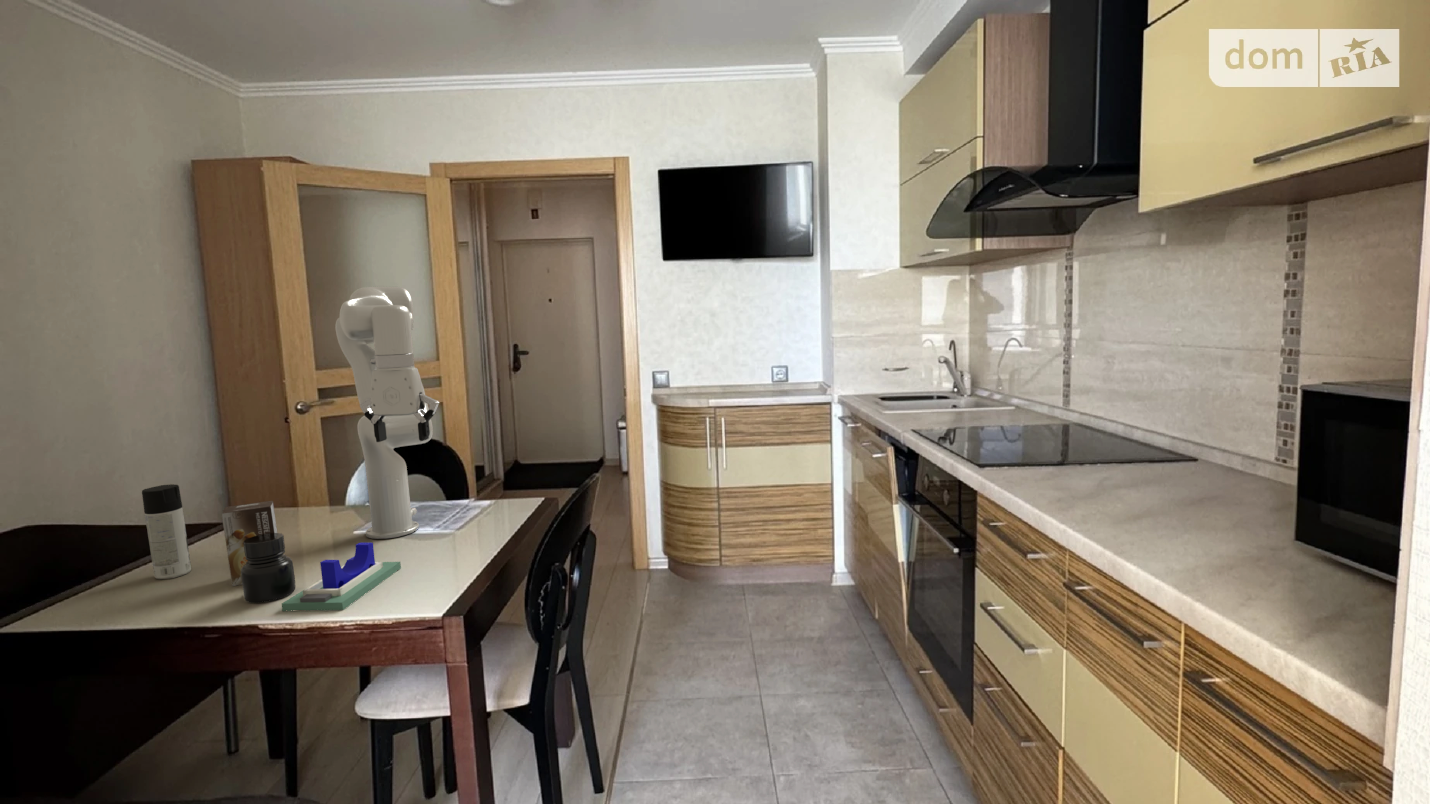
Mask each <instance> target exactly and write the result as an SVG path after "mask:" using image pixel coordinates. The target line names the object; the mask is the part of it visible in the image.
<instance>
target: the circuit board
mask: <svg viewBox="0 0 1430 804" xmlns="http://www.w3.org/2000/svg"><path fill="white" fill-rule="evenodd" d="M344 565H345V564H343V565H342V566H341V568H343V567H344ZM401 568H402V566H401V561H375V565H373V566H372V567H370V568H369V569H367V570H366V571H364V572H363V573H361V574H360V575H358V576H357V577H355V578H354V579H352V580H351V581H349V582H348V583H346V584H345V585H343V586H342V587H340V588H339V589H323V582H322V578H321V579H319V580H317V581H316V582H314V583H312V584H311V585H309V586H307V587H306V588H304V589H303V590H301V591H300V592H298V593H296V594H295V595H293V596H291V597H289V598H288V599H286V600H285V601H284V602H282V603H281V611H282V612H294V611H293V610H306V611H307V610H309V611H310V610H319V611H344V610H345V609H347V608H349V606H351V605H352V604H354V603H355V602H356V601H358V600H359V599H361V598H362V597H363V596H365V595H366V594H367V593H369V592H370V591H371V590H373V589H374V588H376V587H377V586H378V585H380V584H382V583H383V582H384V581H385V580H387V579H388V578H389V577H391V576H392V575H394V574H395V573H396V572H398V571H399V570H401ZM397 570H398V571H397ZM393 573H394V574H393ZM383 580H384V581H383ZM382 581H383V582H382ZM379 583H380V584H379ZM375 586H376V587H375ZM372 588H373V589H372ZM369 590H370V591H369ZM368 591H369V592H368ZM365 593H366V594H365ZM364 594H365V595H364ZM361 596H362V597H361ZM355 600H356V601H355ZM354 601H355V602H354ZM353 602H354V603H353ZM351 603H352V604H351ZM350 604H351V605H350ZM346 607H347V608H346ZM286 610H287V611H286ZM291 610H292V611H291ZM306 611H305V612H306ZM307 612H308V611H307ZM310 612H311V611H310Z"/></svg>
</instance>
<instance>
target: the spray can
mask: <svg viewBox="0 0 1430 804" xmlns="http://www.w3.org/2000/svg"><path fill="white" fill-rule="evenodd" d="M141 496H142V497H141V498H142V503H143V511H144V518H145V524H146V526H145V527H146V529H147V537H148V538H147V539H148V544H149V550H150V557H151V562H152V563H151V565H152V569H153V570H152V571H153V576H154V578H155V579H157V580H168V579H169V580H170V579H174V578H179V577H182V576H185V575H187V574H189V573H190V572H191V570H192V566H191V565H192V564H191V557H190V550H189V544H188V543H189V542H188V537H187V536H188V535H187V529H186V521H185V515H184V509H183V503H182V496H181V491H180V486H179V485H178V484H171V483H170V484H163V485H156V486H152V487H147V488H144V489H143V490H141Z"/></svg>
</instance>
